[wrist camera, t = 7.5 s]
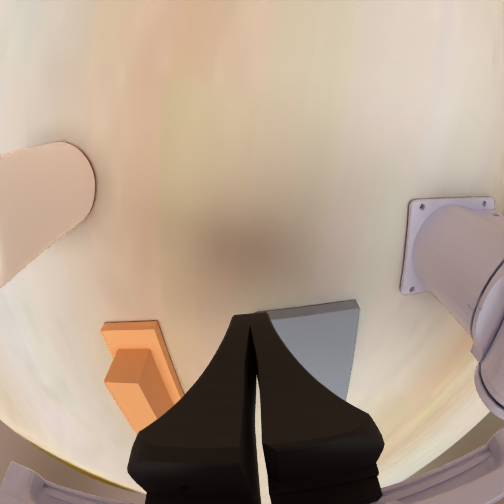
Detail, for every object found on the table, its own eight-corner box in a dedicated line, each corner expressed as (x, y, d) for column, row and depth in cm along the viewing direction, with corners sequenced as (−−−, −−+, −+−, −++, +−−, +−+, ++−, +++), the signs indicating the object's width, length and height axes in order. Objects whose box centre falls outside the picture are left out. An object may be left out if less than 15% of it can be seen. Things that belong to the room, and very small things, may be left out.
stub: (157, 320, 23) (142, 364, 19) (190, 409, 28) (185, 449, 24) (104, 322, 23) (82, 362, 19) (146, 409, 28) (137, 446, 24)
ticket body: (354, 299, 23) (360, 308, 22) (342, 393, 28) (345, 403, 27) (255, 312, 23) (256, 322, 22) (266, 405, 28) (267, 414, 27)
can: (84, 240, 20) (-12, 338, 9) (23, 206, 19) (-82, 274, 8) (110, 160, 18) (-14, 215, 7) (43, 129, 17) (-85, 159, 6)
